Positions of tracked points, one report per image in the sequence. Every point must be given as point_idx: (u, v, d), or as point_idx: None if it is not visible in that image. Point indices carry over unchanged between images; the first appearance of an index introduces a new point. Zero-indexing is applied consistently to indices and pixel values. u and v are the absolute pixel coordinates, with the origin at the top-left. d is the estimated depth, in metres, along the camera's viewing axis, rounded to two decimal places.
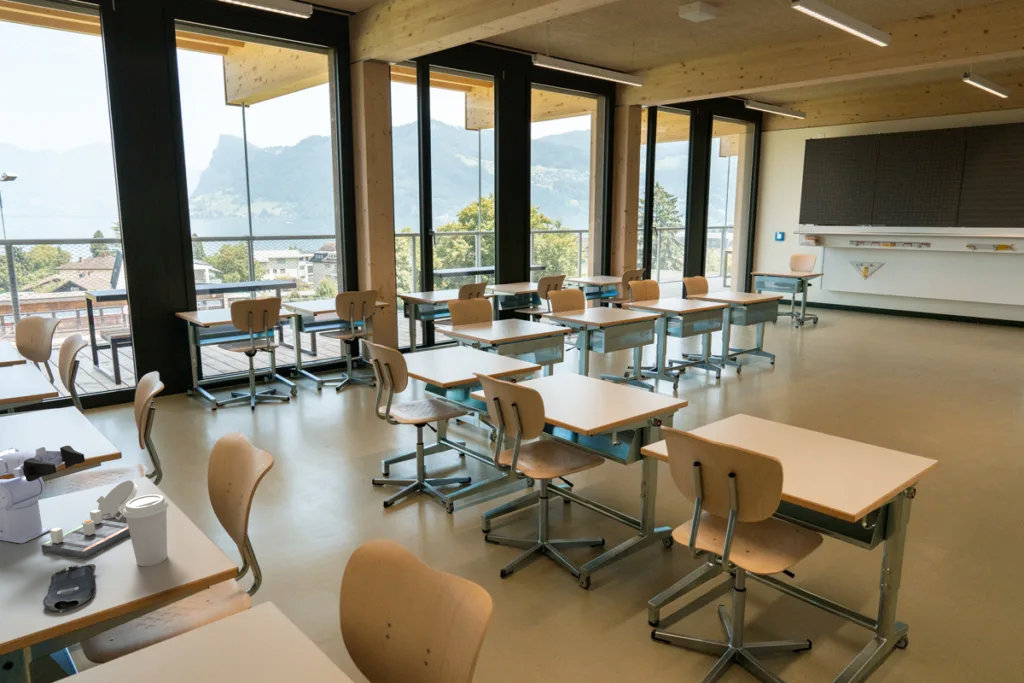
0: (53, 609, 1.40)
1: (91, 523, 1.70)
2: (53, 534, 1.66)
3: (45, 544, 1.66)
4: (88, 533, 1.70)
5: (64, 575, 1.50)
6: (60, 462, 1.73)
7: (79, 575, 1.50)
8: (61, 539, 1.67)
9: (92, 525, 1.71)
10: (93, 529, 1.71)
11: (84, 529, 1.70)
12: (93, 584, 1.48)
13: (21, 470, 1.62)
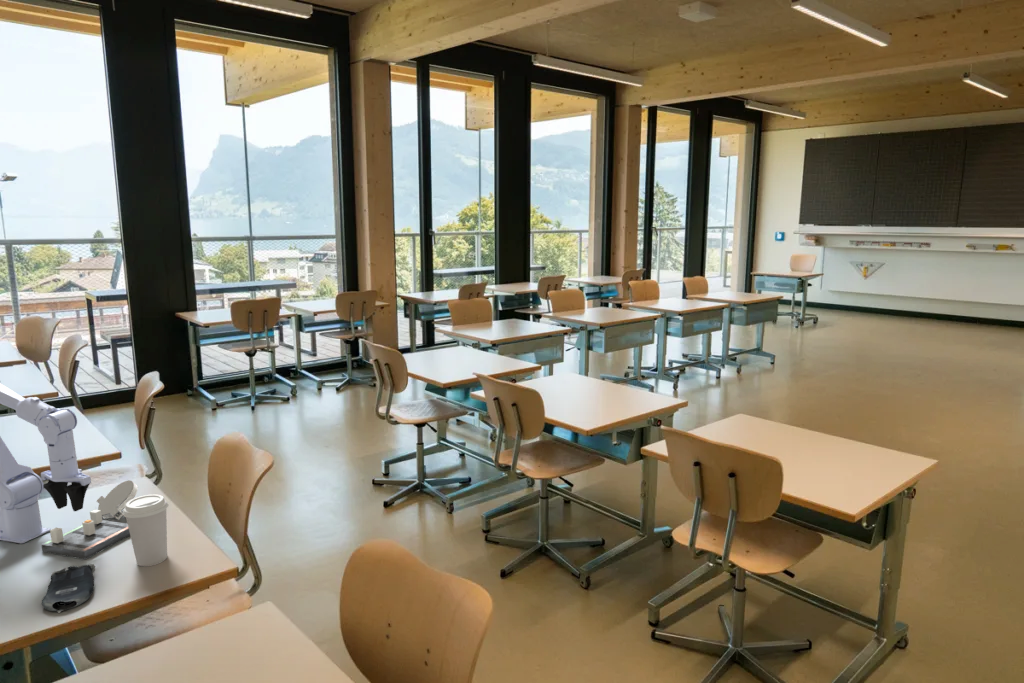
0: (51, 609, 1.40)
1: (91, 523, 1.70)
2: (53, 534, 1.66)
3: (45, 544, 1.66)
4: (88, 533, 1.70)
5: (63, 575, 1.50)
6: None
7: (78, 575, 1.50)
8: (61, 539, 1.67)
9: (92, 525, 1.71)
10: (93, 529, 1.71)
11: (84, 529, 1.70)
12: (92, 584, 1.47)
13: None
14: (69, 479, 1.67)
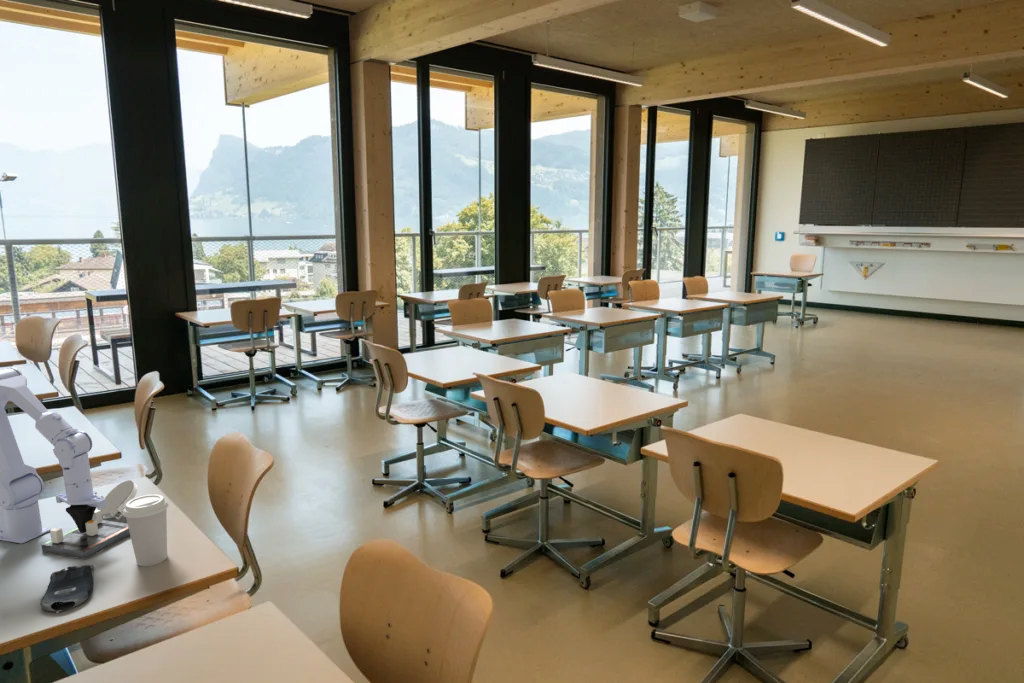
0: (50, 610, 1.40)
1: (94, 523, 1.70)
2: (53, 534, 1.66)
3: (45, 544, 1.66)
4: (91, 533, 1.70)
5: (63, 575, 1.50)
6: None
7: (78, 576, 1.50)
8: (61, 539, 1.67)
9: (95, 525, 1.70)
10: (96, 529, 1.71)
11: (87, 529, 1.70)
12: (91, 585, 1.47)
13: None
14: (84, 502, 1.67)
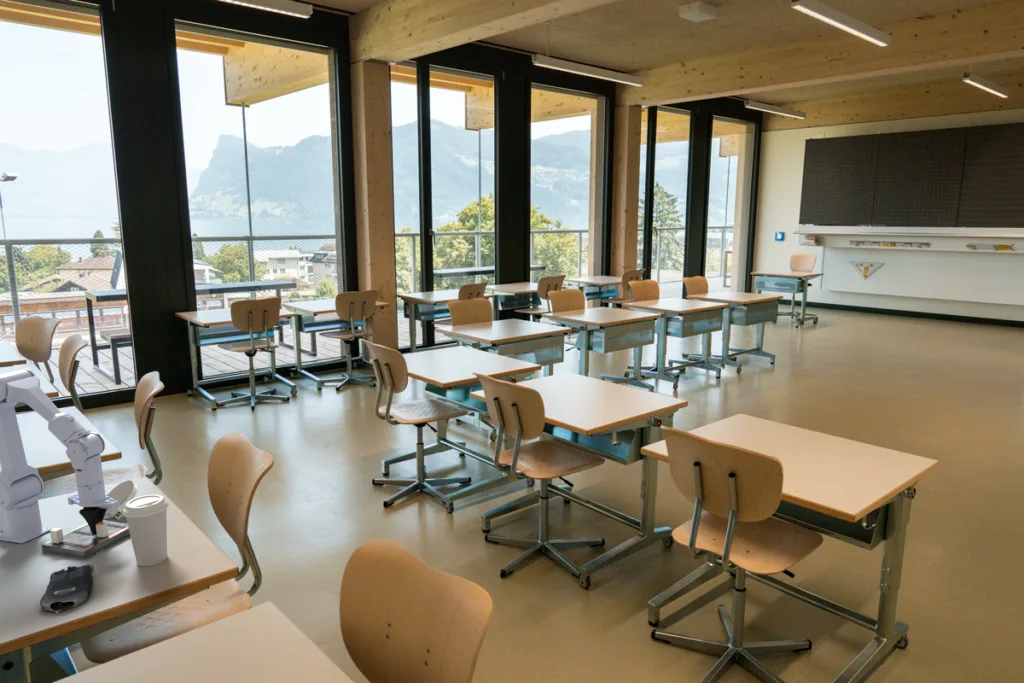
0: (49, 610, 1.40)
1: (104, 525, 1.69)
2: (53, 534, 1.66)
3: (45, 544, 1.66)
4: (101, 535, 1.69)
5: (63, 575, 1.50)
6: None
7: (77, 576, 1.50)
8: (61, 539, 1.67)
9: (105, 527, 1.69)
10: (106, 531, 1.70)
11: (97, 531, 1.69)
12: (90, 585, 1.47)
13: None
14: (97, 504, 1.66)
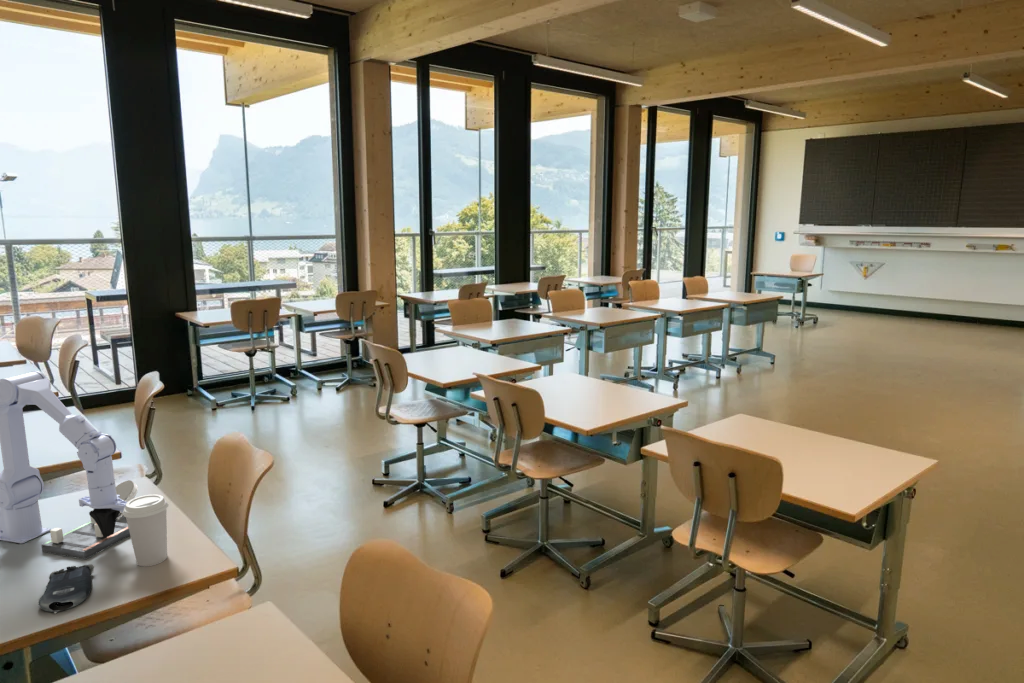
0: (48, 610, 1.40)
1: None
2: (53, 534, 1.66)
3: (45, 544, 1.66)
4: (100, 535, 1.69)
5: (62, 575, 1.50)
6: None
7: (77, 576, 1.50)
8: (61, 539, 1.67)
9: None
10: None
11: (96, 531, 1.69)
12: (89, 585, 1.47)
13: None
14: (108, 506, 1.65)
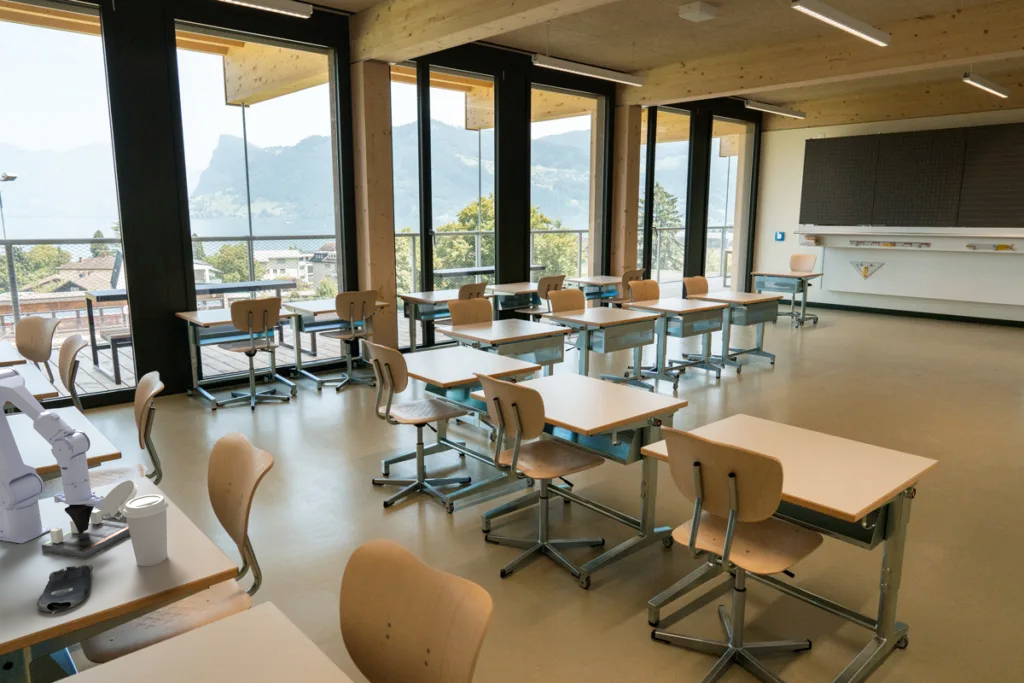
0: (46, 610, 1.40)
1: None
2: (53, 534, 1.66)
3: (45, 544, 1.66)
4: (76, 531, 1.71)
5: (61, 575, 1.50)
6: None
7: (76, 576, 1.50)
8: (61, 539, 1.67)
9: None
10: None
11: (72, 527, 1.71)
12: (88, 585, 1.47)
13: None
14: (82, 502, 1.67)
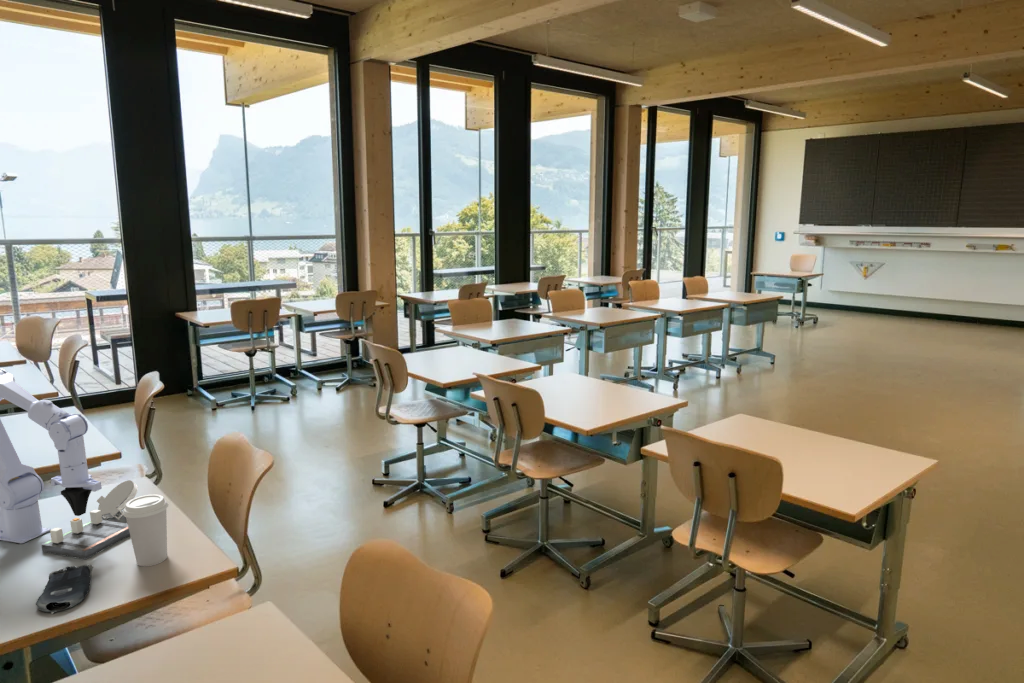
0: (45, 610, 1.40)
1: (79, 521, 1.72)
2: (53, 534, 1.66)
3: (45, 544, 1.66)
4: (76, 531, 1.71)
5: (61, 575, 1.50)
6: None
7: (75, 576, 1.50)
8: (61, 539, 1.67)
9: (80, 523, 1.72)
10: (81, 527, 1.72)
11: (72, 527, 1.71)
12: (87, 585, 1.47)
13: None
14: (80, 485, 1.66)
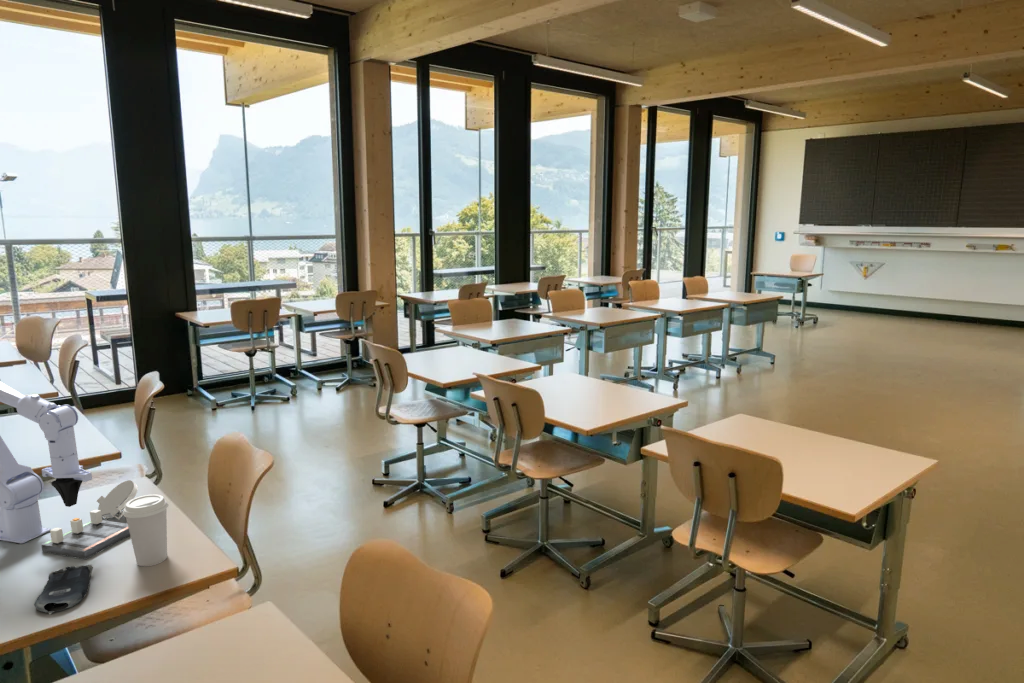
0: (43, 610, 1.40)
1: (79, 521, 1.72)
2: (53, 534, 1.66)
3: (45, 544, 1.66)
4: (76, 531, 1.71)
5: (60, 575, 1.50)
6: None
7: (75, 576, 1.50)
8: (61, 539, 1.67)
9: (80, 523, 1.72)
10: (81, 527, 1.72)
11: (72, 527, 1.71)
12: (86, 586, 1.47)
13: None
14: (70, 475, 1.67)
